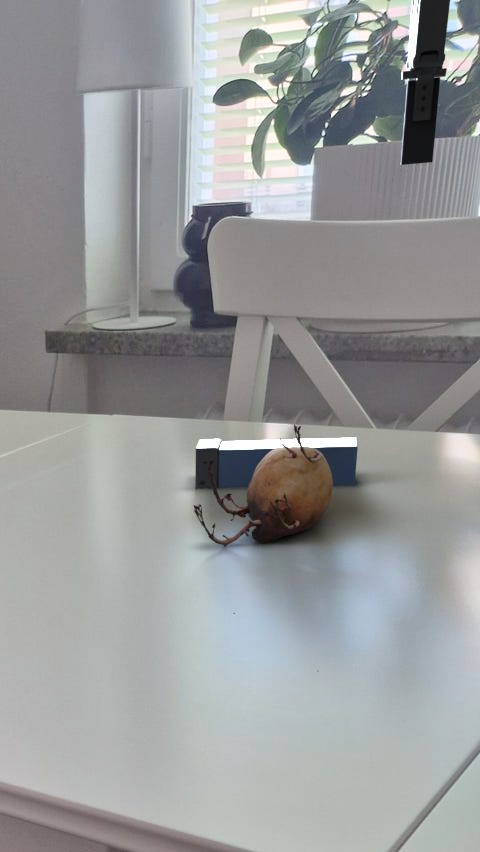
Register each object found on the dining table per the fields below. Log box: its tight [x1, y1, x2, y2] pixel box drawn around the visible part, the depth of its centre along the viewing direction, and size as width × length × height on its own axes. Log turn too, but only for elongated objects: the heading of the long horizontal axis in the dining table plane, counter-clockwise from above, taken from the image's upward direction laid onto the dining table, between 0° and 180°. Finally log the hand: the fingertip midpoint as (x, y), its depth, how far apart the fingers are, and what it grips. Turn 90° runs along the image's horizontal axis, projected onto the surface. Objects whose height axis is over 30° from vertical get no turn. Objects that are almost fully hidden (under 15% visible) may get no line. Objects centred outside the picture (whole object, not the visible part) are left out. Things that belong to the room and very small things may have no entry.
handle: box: [194, 437, 359, 490], centre depth 105 cm, size 14×4×4 cm, turn 76°
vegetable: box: [192, 423, 334, 548], centre depth 93 cm, size 16×11×10 cm
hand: (416, 163), depth 107 cm, fingers closed
